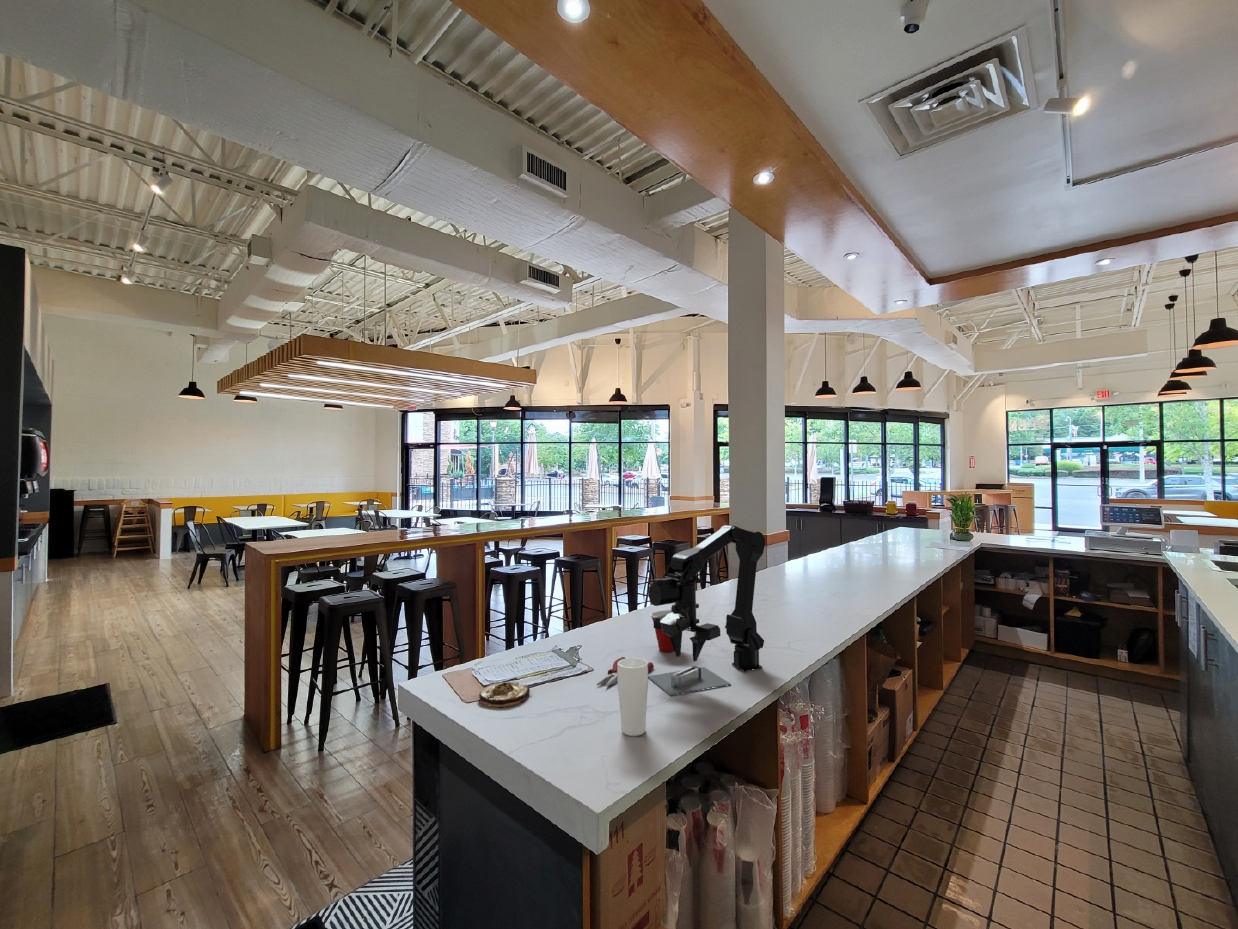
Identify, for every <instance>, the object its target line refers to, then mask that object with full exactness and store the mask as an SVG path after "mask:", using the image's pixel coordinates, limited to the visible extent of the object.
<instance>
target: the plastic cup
mask: <svg viewBox="0 0 1238 929" xmlns="http://www.w3.org/2000/svg"><path fill="white" fill-rule="evenodd" d="M669 613H671V609H665V610H658V611H653V612H652V613H650V614H649V615H650V617H651V619H652V622H653V621H654V619H655V618H656V617H659V616H662V615H667V614H669ZM654 631H655V635H656V636H655V637H656V640H657V647H658V650H659V651H660V652H662V653H672V652H673V651H674V649H673V646H672V643H671V641H670V639H669V637H668V636H667V635H666V634H665V633H663V632H662V631H663V630H660V629H656V628H654ZM674 652H675V651H674ZM674 652H673V653H674Z"/></svg>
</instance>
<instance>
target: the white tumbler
mask: <svg viewBox="0 0 1238 929" xmlns="http://www.w3.org/2000/svg"><path fill="white" fill-rule="evenodd" d="M648 663H649V662H648V660H645V659H644V658H639V657H627V658H626V657H625V659H622V660H620V661H618V665H617V690H618V701H619V711H620V725H621V726H620V727H621V728H620V729H621V731H622V733H623V734H624V735H626V736H628V737H638V736H641V735H643V734H644V733H645V732H646V731H647V730H646V729H647V728H646V727H647V726H646V725H647V724H646V720H647V706H648V705H647V704H648V691H649V678H648V676H649V673H648Z"/></svg>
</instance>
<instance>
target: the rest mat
mask: <svg viewBox="0 0 1238 929" xmlns="http://www.w3.org/2000/svg"><path fill="white" fill-rule="evenodd" d="M700 668H701V678H700V679H698V680H696V681H694V682H692V683H690V684H687V685H685V686H683V687H681V688H672V686H671V675H673V674H675V673H677V672H680V671H681V670H677V671H672V672H664V673H658V674H653V675H648V680H650V681H651V682H652V683H654V685H656V686H657V687H659V689H661V690H662V691H664V692H665V693H666V694H667V696H669V697H672V696H673V695H674V696H678V695H677V694H680V695H683V694H682V693H685V694H690V692H691V693H694V691H696V692H699V691H698V690H702V689H707V688H712V687H719V688H723V687H722V686H724V687H727V686H726V685H730V686H732V684H731V683H730V682H729V681H727V680H726V679H724V678H722V677H721V676H720V675H718V674H716V673H715V672H713V671H711V670H710V669H709V668H706V667H705V666H703V667H700ZM702 691H703V690H702ZM674 696H673V697H674Z"/></svg>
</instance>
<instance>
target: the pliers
mask: <svg viewBox="0 0 1238 929" xmlns="http://www.w3.org/2000/svg"><path fill="white" fill-rule="evenodd" d="M625 658H626V657H625V656H621V657H619V658H617V659H616V660H615V661H614V662H613V664H612V668H610V669H608V670H607V675H606V676H604V677H603V678H602V679H601V680H600V681H598V683H596V686H600V685H604V686H605V687H606V688H607V687H609V686H611V685H614V684H616V683H618V681H617V665H618V661H620V660H622V659H625ZM647 663H648V674H649V673H650V672H651V671H653V670H654V668H655V666H654V663H653V662H651V661H649V662H647Z"/></svg>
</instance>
